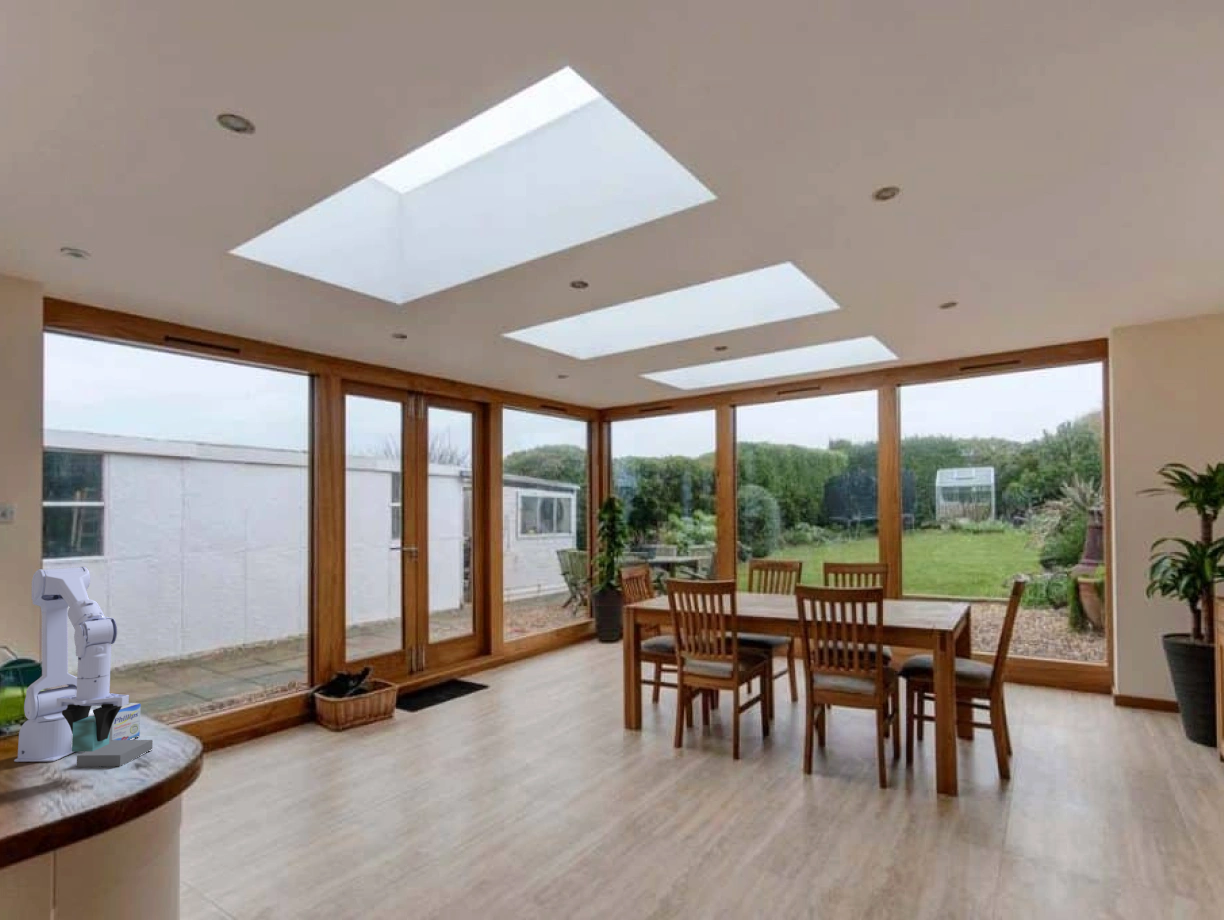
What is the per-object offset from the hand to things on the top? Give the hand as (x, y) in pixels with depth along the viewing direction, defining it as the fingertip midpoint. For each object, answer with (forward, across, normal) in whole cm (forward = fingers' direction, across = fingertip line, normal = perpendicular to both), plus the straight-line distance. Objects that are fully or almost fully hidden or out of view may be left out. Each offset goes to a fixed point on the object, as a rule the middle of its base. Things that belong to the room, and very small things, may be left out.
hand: (91, 739), depth 142 cm
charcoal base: (+8, -3, +11) cm, 14 cm away
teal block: (+2, 0, 0) cm, 2 cm away
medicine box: (+8, -11, +22) cm, 26 cm away
